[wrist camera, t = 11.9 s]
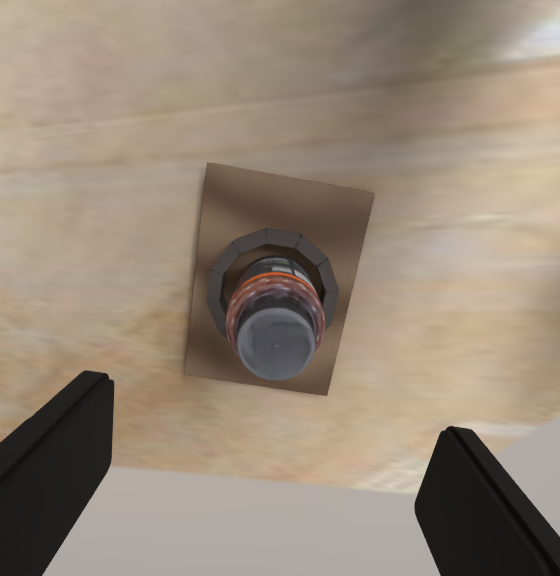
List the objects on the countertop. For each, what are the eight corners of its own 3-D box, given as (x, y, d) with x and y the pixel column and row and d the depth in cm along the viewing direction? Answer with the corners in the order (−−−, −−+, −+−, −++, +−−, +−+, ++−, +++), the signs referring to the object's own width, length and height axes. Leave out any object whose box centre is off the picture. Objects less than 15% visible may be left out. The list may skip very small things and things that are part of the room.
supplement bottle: (256, 332, 28) (242, 415, 17) (227, 269, 27) (193, 315, 16) (321, 307, 28) (350, 376, 17) (295, 241, 26) (309, 269, 15)
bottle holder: (210, 164, 26) (201, 158, 23) (370, 193, 26) (383, 192, 23) (187, 368, 30) (177, 386, 27) (325, 388, 31) (330, 409, 28)
